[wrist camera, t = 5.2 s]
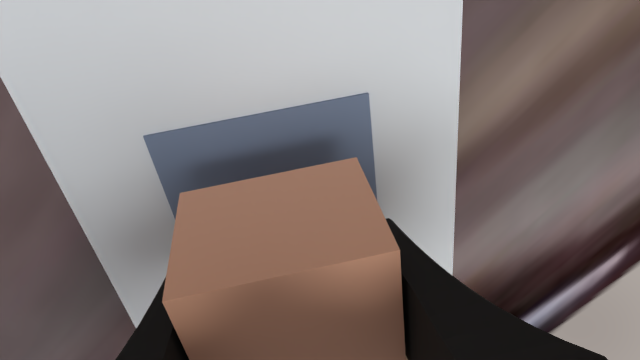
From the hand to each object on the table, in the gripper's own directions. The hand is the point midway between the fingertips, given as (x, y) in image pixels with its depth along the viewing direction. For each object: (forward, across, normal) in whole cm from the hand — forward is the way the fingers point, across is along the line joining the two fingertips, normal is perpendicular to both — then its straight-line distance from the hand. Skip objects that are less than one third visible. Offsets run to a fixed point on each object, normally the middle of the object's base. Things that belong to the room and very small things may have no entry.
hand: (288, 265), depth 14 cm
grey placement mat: (+4, 0, 0) cm, 4 cm away
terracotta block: (+1, 0, 0) cm, 1 cm away
